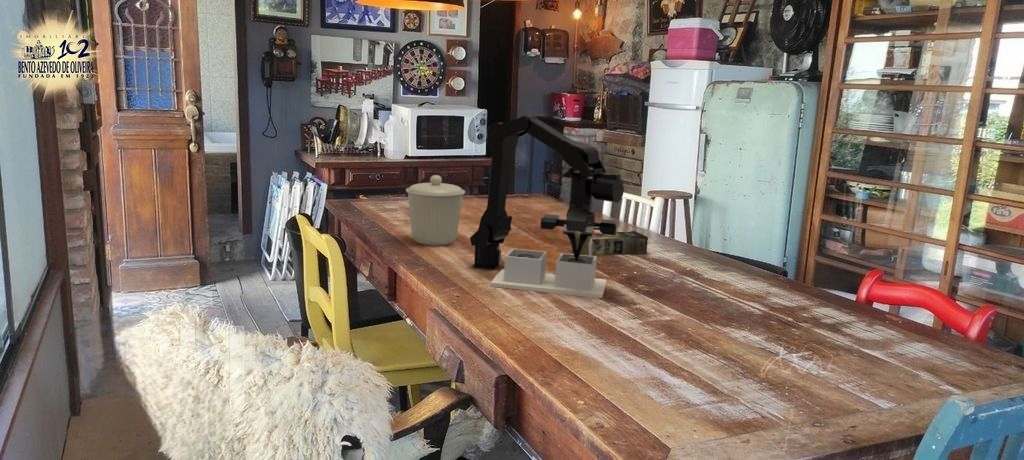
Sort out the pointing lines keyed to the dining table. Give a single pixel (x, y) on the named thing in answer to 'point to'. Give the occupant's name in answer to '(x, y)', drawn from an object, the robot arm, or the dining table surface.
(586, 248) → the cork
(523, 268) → the board
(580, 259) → the plunger
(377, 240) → the dining table surface
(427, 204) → the canister
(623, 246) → the juice carton
